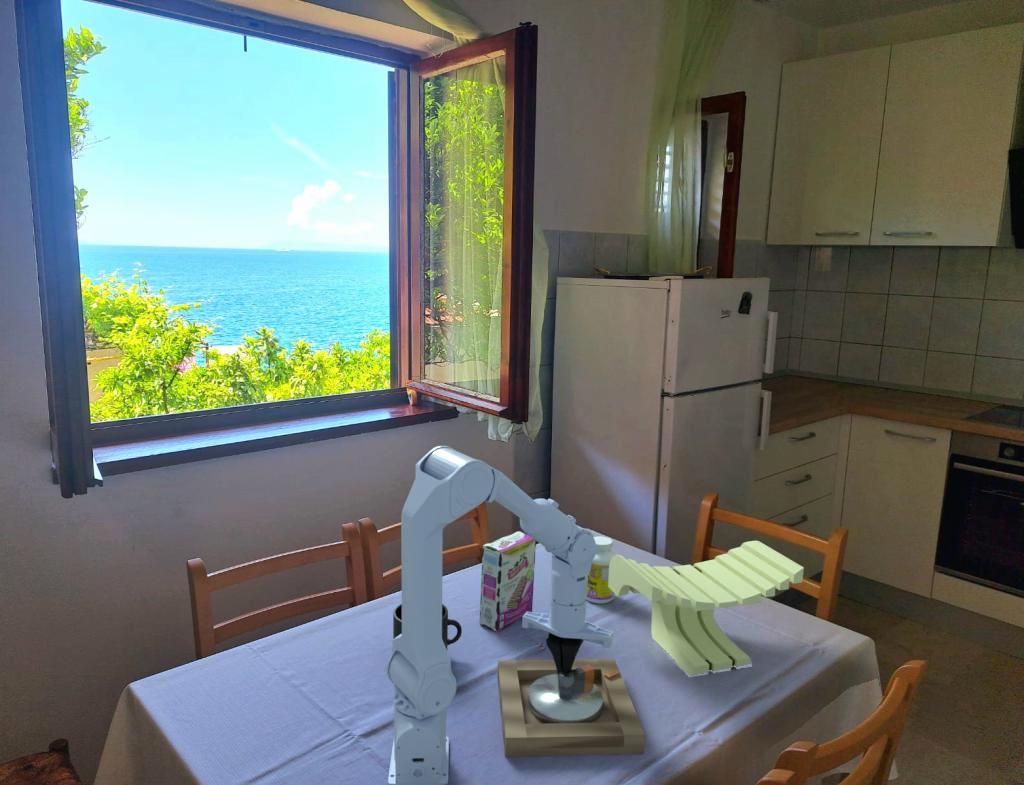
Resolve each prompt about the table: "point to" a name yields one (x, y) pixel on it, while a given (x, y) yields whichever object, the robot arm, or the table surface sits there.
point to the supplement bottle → (600, 572)
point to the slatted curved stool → (704, 600)
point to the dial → (566, 697)
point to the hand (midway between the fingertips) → (564, 677)
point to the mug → (445, 622)
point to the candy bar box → (507, 580)
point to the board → (537, 738)
